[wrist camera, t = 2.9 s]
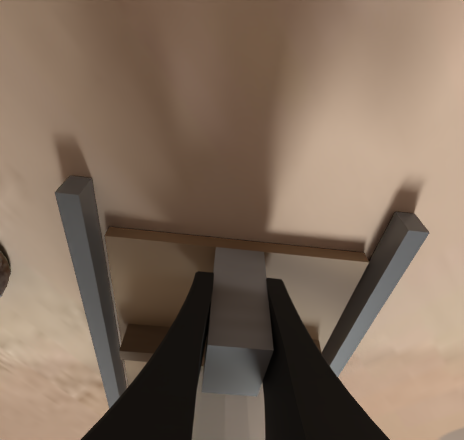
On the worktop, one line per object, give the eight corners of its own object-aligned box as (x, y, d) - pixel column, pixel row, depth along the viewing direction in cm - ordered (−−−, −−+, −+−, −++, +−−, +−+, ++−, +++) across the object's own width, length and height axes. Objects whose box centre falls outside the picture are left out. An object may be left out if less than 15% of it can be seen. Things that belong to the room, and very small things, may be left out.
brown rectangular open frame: (287, 405, 23) (298, 495, 19) (133, 394, 22) (110, 485, 18) (364, 252, 14) (416, 362, 10) (109, 226, 13) (52, 332, 9)
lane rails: (301, 411, 23) (304, 429, 22) (117, 398, 22) (111, 416, 21) (414, 213, 12) (429, 232, 12) (69, 175, 12) (54, 192, 11)
